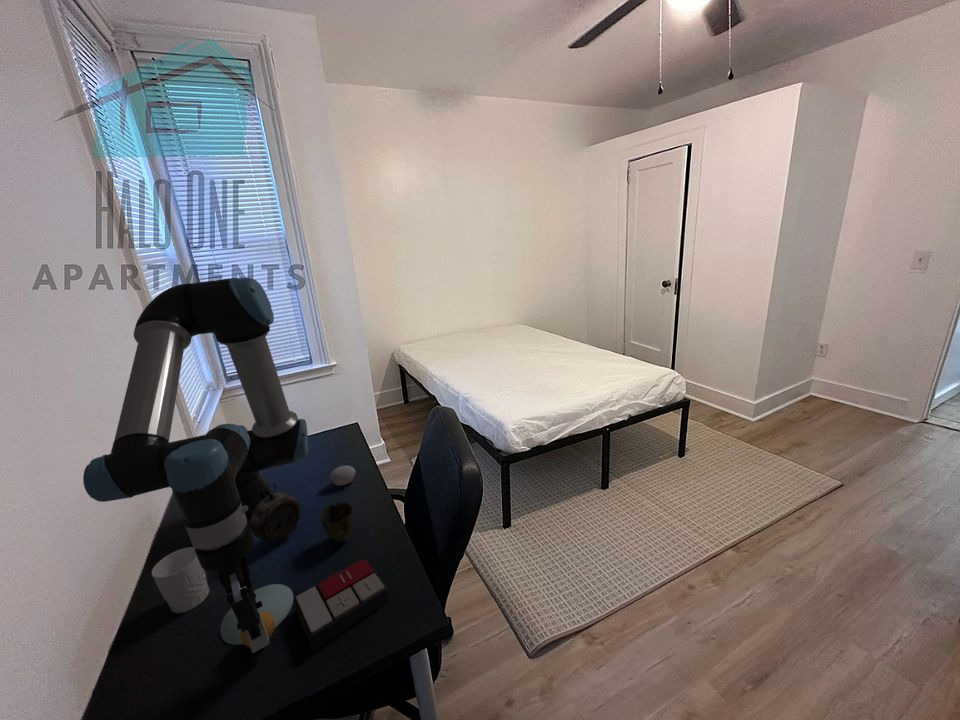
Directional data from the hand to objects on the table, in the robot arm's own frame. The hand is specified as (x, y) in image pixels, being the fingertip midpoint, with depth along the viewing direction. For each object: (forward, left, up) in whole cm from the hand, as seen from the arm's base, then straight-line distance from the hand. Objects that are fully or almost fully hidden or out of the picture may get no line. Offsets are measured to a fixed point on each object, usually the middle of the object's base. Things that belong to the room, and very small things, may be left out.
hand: (260, 645), depth 69 cm
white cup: (-25, -7, -2) cm, 27 cm away
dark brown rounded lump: (-16, +23, -2) cm, 28 cm away
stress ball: (-39, +34, -3) cm, 52 cm away
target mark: (-10, +2, -2) cm, 11 cm away
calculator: (+2, +14, -3) cm, 15 cm away
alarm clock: (-28, +13, -2) cm, 31 cm away
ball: (-3, +1, 0) cm, 3 cm away
